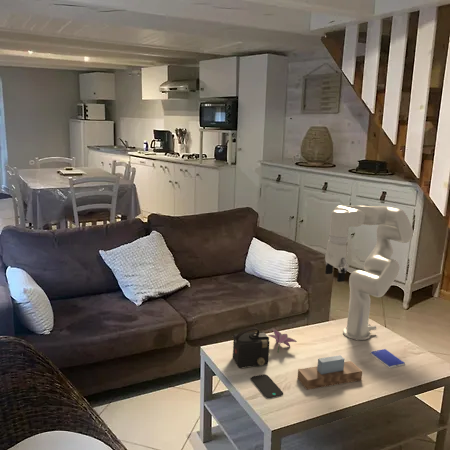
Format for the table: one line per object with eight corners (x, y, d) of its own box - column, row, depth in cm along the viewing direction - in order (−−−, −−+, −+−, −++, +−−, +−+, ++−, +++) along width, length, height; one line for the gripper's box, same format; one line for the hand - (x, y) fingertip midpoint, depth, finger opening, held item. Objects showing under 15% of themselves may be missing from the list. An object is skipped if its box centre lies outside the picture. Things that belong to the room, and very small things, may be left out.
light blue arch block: (338, 375, 191) (340, 355, 188) (342, 379, 188) (344, 358, 186) (316, 379, 187) (318, 358, 185) (320, 383, 185) (322, 362, 183)
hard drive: (370, 351, 209) (389, 365, 197) (385, 348, 212) (405, 362, 200) (370, 354, 209) (389, 369, 198) (385, 351, 212) (404, 365, 201)
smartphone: (266, 398, 173) (249, 376, 187) (266, 400, 173) (249, 378, 187) (285, 394, 176) (266, 373, 190) (284, 396, 176) (266, 375, 190)
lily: (298, 356, 207) (301, 333, 209) (279, 352, 200) (282, 329, 203) (279, 353, 216) (282, 331, 219) (260, 349, 210) (263, 327, 212)
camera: (271, 366, 196) (273, 333, 192) (239, 370, 192) (240, 336, 189) (262, 353, 206) (263, 321, 203) (231, 357, 202) (232, 324, 199)
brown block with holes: (350, 369, 195) (350, 361, 194) (361, 380, 188) (362, 371, 187) (297, 378, 188) (298, 369, 187) (307, 389, 180) (307, 380, 179)
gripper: (320, 234, 208) (317, 271, 212) (341, 245, 192) (337, 285, 196) (335, 233, 210) (331, 270, 214) (357, 244, 194) (353, 283, 198)
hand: (334, 277), depth 205 cm, fingers open, 9 cm apart
